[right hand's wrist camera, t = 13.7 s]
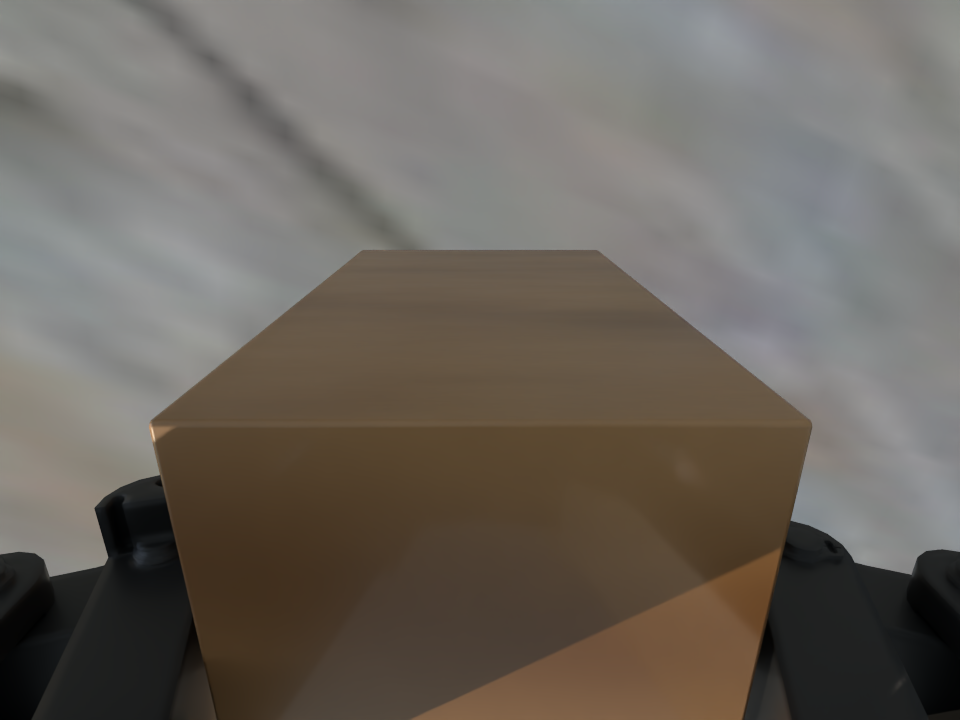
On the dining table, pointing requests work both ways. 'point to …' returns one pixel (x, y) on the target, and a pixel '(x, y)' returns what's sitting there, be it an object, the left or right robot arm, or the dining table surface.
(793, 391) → the dining table surface
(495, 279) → the bar
